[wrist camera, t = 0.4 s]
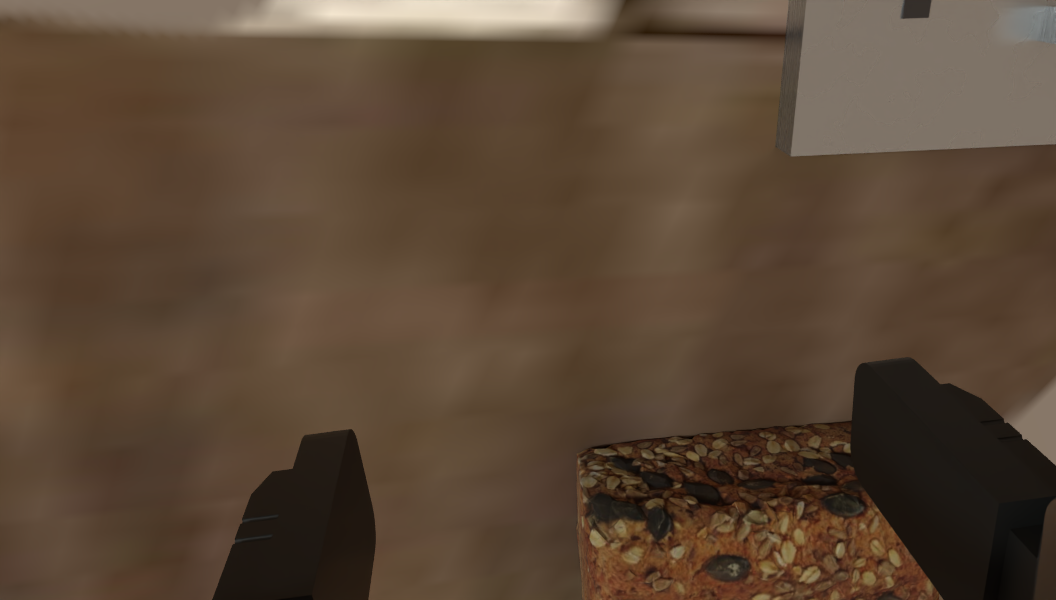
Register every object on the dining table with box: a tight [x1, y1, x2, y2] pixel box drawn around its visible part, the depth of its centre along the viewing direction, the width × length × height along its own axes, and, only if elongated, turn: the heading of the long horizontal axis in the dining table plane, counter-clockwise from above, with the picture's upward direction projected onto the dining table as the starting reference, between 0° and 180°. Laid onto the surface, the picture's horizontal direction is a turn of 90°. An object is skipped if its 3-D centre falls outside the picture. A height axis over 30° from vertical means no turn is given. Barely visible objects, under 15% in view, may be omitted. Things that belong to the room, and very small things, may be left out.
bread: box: [576, 421, 939, 600], centre depth 44 cm, size 19×11×10 cm, turn 92°
